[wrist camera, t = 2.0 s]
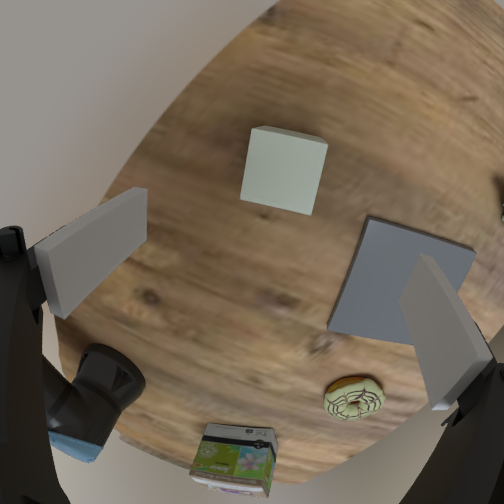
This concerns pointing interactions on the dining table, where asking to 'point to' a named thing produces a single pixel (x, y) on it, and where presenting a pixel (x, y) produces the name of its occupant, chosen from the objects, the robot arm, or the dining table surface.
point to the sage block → (283, 168)
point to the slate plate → (390, 278)
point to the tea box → (236, 460)
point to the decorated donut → (353, 398)
